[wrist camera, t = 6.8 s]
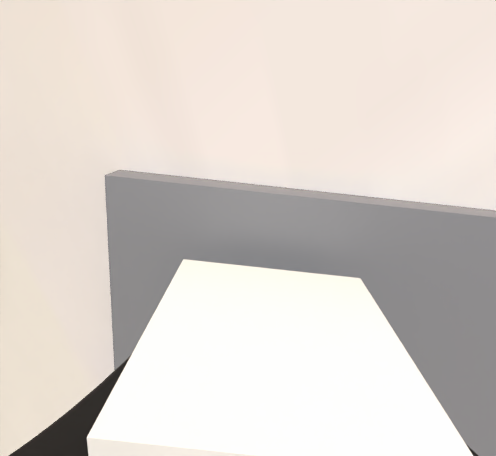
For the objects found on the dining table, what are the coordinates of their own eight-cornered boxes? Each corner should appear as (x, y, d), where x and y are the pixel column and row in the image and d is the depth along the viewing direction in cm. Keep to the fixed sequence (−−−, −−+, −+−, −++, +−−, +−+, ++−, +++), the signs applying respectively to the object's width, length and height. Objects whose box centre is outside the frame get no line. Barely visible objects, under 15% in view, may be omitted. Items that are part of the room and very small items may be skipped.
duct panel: (644, 226, 12) (685, 238, 11) (492, 500, 17) (508, 527, 16) (119, 169, 12) (104, 175, 11) (129, 462, 17) (120, 486, 16)
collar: (360, 278, 10) (488, 480, 4) (327, 410, 12) (387, 668, 6) (183, 259, 10) (86, 437, 4) (178, 394, 12) (106, 638, 6)
